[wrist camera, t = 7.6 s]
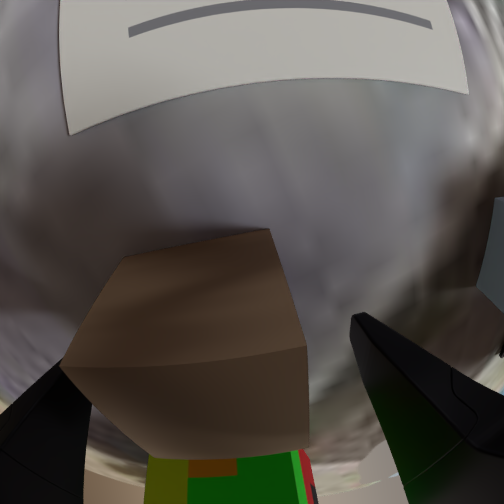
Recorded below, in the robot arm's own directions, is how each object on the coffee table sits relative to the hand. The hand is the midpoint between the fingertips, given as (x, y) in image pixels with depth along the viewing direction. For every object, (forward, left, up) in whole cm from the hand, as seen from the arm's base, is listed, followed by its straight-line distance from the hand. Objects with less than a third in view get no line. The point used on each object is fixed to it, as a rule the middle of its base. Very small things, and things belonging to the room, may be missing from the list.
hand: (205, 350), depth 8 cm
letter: (-4, -12, -2) cm, 13 cm away
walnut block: (0, 0, -2) cm, 2 cm away
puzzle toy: (+2, +16, -2) cm, 16 cm away
